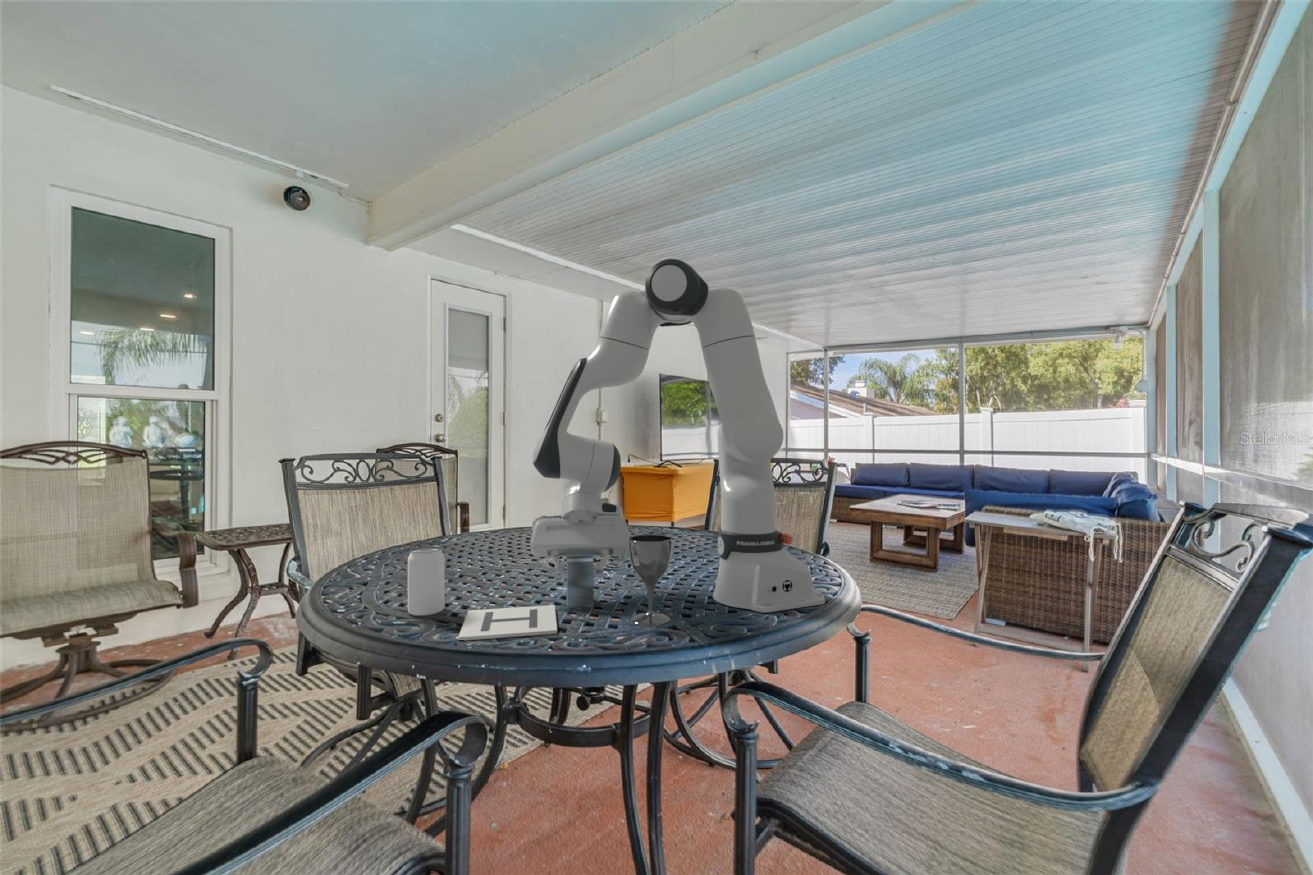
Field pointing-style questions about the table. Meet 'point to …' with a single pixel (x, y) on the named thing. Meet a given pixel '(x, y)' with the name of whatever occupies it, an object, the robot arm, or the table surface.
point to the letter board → (509, 622)
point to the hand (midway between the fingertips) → (579, 572)
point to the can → (425, 581)
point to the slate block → (580, 581)
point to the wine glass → (650, 570)
